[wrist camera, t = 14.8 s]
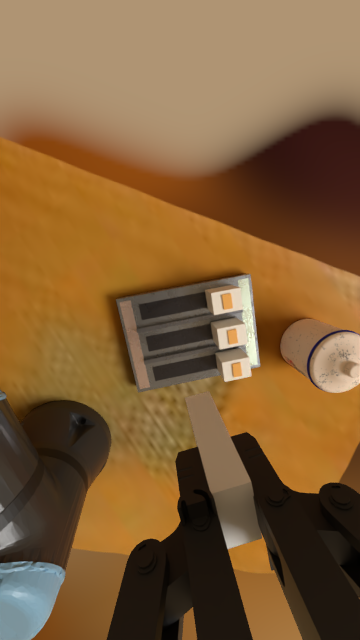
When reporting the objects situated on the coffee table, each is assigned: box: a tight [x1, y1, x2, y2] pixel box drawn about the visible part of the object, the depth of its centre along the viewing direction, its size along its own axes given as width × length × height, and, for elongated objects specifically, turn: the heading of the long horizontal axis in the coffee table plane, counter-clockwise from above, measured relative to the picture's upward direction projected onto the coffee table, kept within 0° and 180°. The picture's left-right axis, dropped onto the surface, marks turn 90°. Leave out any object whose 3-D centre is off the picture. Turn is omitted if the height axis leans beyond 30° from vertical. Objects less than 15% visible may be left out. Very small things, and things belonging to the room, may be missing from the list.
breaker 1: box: [205, 285, 243, 315], centre depth 36 cm, size 4×3×4 cm
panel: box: [116, 274, 260, 392], centre depth 39 cm, size 20×15×3 cm
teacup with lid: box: [280, 319, 360, 393], centre depth 38 cm, size 12×9×12 cm
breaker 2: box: [211, 317, 248, 350], centre depth 37 cm, size 4×3×4 cm
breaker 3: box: [215, 348, 251, 382], centre depth 38 cm, size 4×3×4 cm
